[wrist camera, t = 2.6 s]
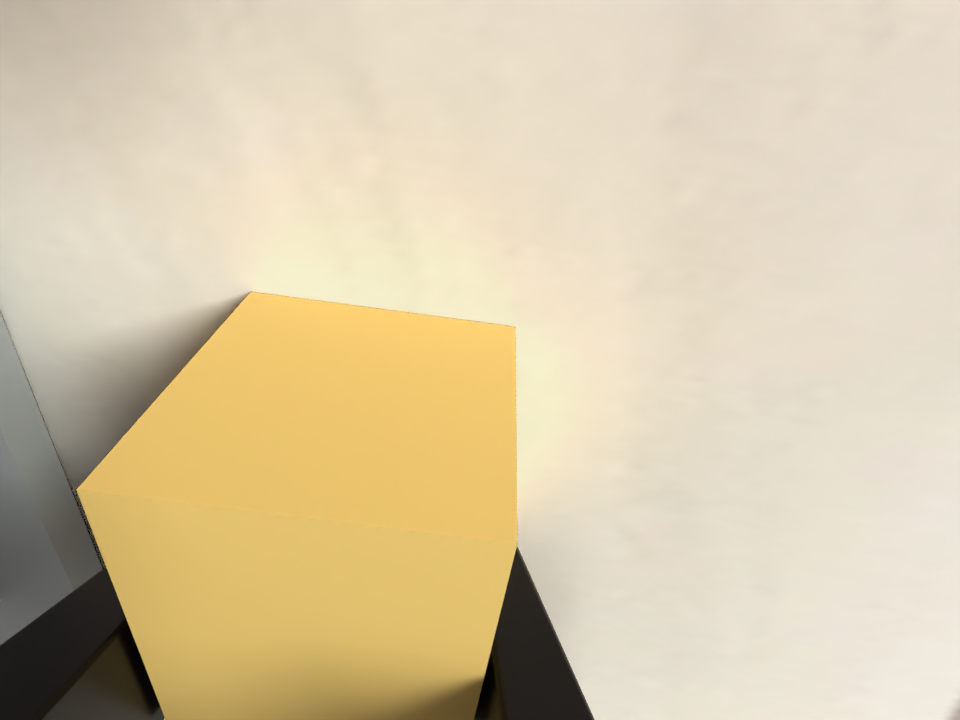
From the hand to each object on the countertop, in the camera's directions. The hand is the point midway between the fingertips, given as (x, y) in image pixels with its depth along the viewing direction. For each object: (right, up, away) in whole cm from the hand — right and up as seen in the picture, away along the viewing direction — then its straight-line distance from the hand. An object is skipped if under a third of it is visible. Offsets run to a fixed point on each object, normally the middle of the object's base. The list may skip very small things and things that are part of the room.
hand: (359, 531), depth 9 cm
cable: (0, -2, +3) cm, 4 cm away
